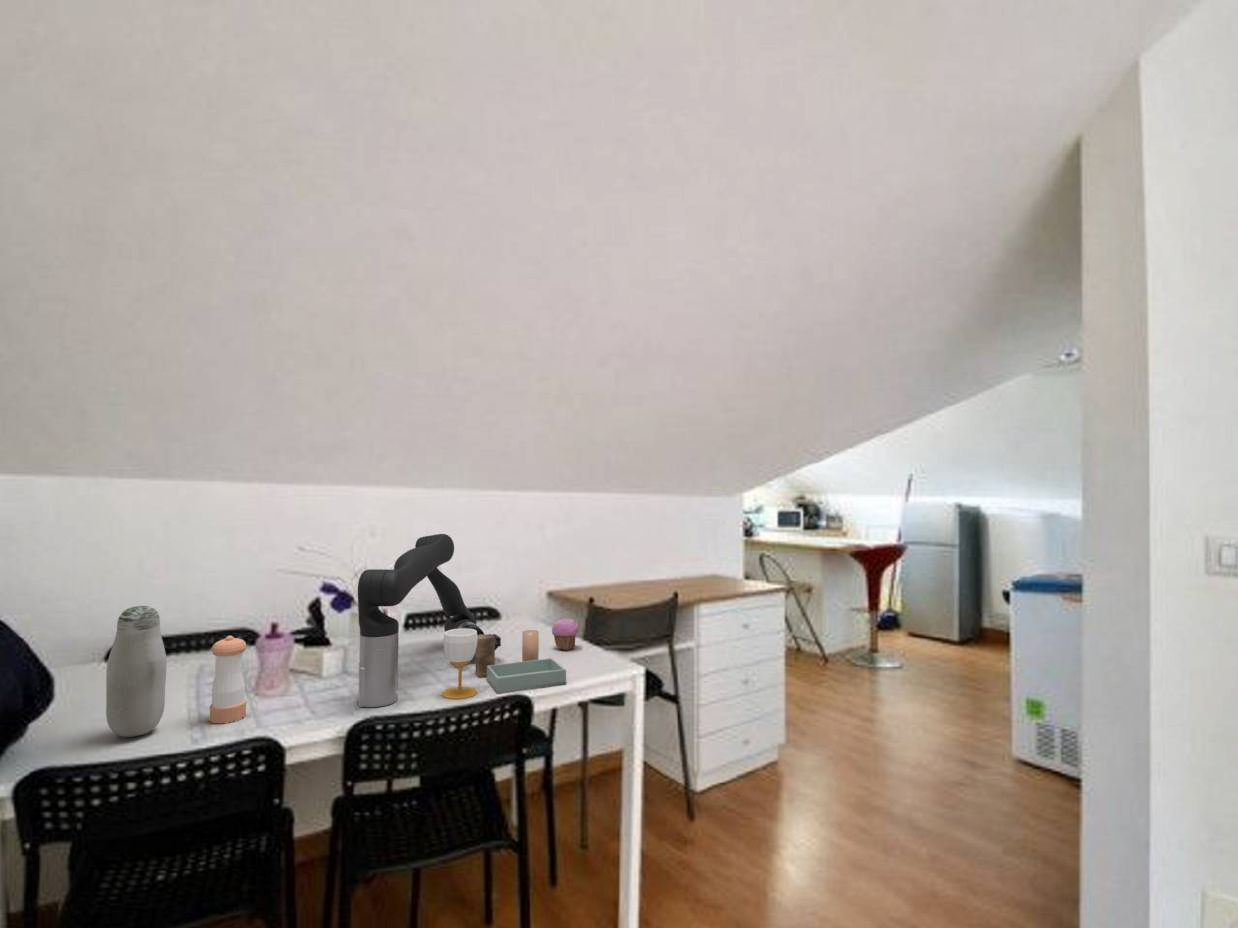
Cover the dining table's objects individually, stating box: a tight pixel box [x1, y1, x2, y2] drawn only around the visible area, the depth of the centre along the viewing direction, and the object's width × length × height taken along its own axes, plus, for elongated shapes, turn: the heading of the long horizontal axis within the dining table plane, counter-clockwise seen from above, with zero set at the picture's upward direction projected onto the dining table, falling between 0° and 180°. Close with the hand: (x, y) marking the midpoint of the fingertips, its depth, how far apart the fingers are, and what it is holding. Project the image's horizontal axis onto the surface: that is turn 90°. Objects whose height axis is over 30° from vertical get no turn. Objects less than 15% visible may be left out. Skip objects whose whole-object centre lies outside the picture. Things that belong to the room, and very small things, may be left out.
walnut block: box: [475, 633, 496, 679], centre depth 184 cm, size 4×4×11 cm
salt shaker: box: [209, 635, 247, 724], centre depth 150 cm, size 7×7×19 cm
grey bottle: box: [105, 605, 167, 738], centre depth 140 cm, size 10×10×28 cm
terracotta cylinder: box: [521, 629, 540, 662], centre depth 189 cm, size 5×5×11 cm
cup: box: [442, 628, 478, 700], centre depth 168 cm, size 9×9×16 cm
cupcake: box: [551, 618, 580, 651], centre depth 212 cm, size 9×9×10 cm
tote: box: [486, 657, 567, 695], centre depth 177 cm, size 19×12×4 cm, turn 114°
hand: (481, 648), depth 188 cm, fingers open, 8 cm apart
